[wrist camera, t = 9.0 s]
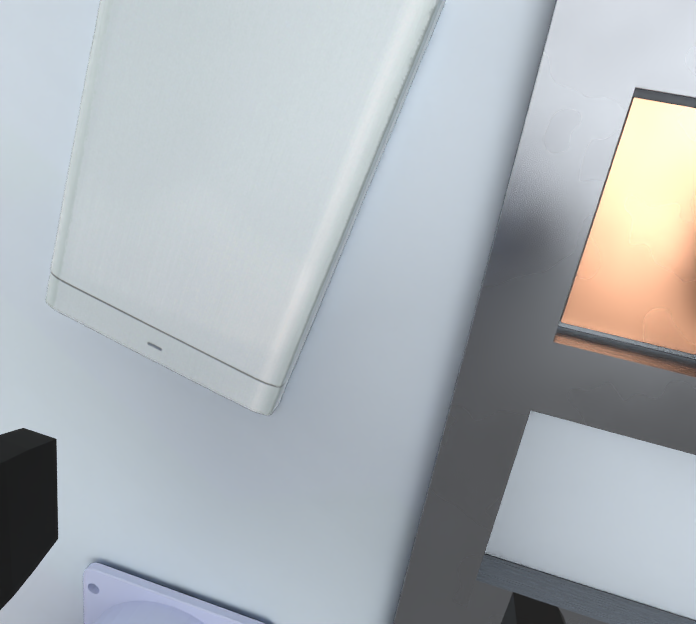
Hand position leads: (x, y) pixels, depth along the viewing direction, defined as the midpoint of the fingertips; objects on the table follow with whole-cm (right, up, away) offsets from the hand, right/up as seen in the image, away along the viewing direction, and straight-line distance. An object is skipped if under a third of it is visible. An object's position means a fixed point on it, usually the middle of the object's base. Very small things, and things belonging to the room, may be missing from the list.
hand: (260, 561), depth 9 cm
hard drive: (-2, +8, +9) cm, 12 cm away
